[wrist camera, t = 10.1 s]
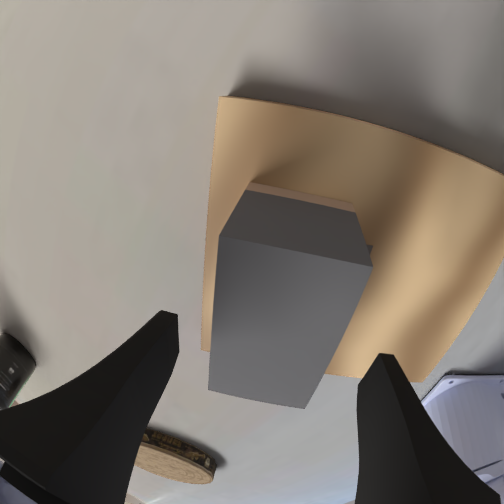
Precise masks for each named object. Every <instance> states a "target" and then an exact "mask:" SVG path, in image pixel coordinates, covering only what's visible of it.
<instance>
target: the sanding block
mask: <svg viewBox="0 0 504 504" xmlns="http://www.w3.org/2000/svg"><path fill="white" fill-rule="evenodd" d="M372 270H373V264H372V261H371V258H370V254H369V251H368V248H367V245H366V242H365V239H364V236H363V233H362V230H361V227H360V224H359V221H358V218H357V215H356V212H355V209H354V207H353V204H352V203H348V202H344V201H339V200H335V199H331V198H326V197H322V196H317V195H313V194H308V193H303V192H298V191H293V190H289V189H284V188H278V187H273V186H268V185H263V184H257V183H252V182H249V184H248V186H247V187H246V189H245V191H244V193H243V194H242V196H241V198H240V199H239V201H238V203H237V205H236V206H235V208H234V210H233V212H232V213H231V215H230V217H229V219H228V220H227V222H226V224H225V226H224V227H223V229H222V231H221V233H220V234H219V240H218V251H217V263H216V275H215V287H214V301H213V315H212V330H211V346H210V363H209V382H208V390H211V391H215V392H219V393H223V394H227V395H232V396H236V397H241V398H245V399H250V400H255V401H260V402H265V403H271V404H276V405H282V406H288V407H295V408H301V409H305V407H306V406H307V404H308V402H309V400H310V399H311V397H312V395H313V393H314V392H315V390H316V388H317V386H318V384H319V383H320V381H321V379H322V377H323V375H324V373H325V371H326V369H327V367H328V366H329V364H330V362H331V360H332V358H333V356H334V354H335V352H336V350H337V348H338V346H339V344H340V342H341V340H342V338H343V336H344V333H345V331H346V329H347V327H348V325H349V323H350V321H351V318H352V316H353V314H354V312H355V310H356V307H357V305H358V303H359V301H360V298H361V296H362V294H363V291H364V289H365V287H366V284H367V282H368V279H369V277H370V275H371V272H372Z"/></svg>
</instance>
